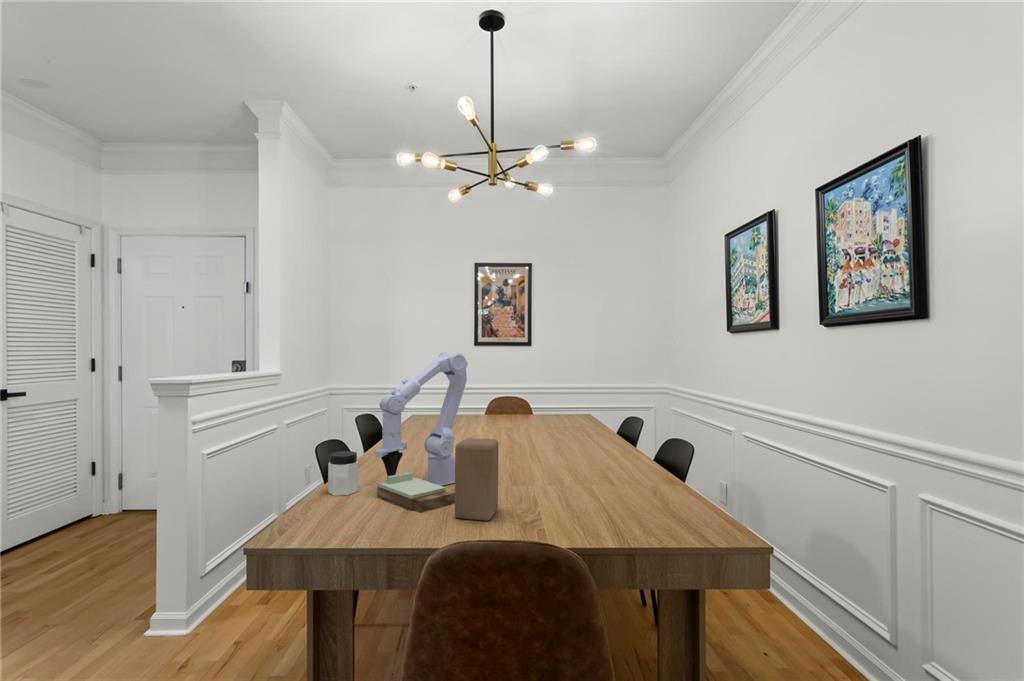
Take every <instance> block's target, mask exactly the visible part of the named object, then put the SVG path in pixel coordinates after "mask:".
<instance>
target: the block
mask: <svg viewBox="0 0 1024 681" xmlns="http://www.w3.org/2000/svg"><path fill="white" fill-rule="evenodd" d="M454 450H455V453H454V454H455V455H454V457H455V483H454V489H455V503H454V516H455V517H454V518H456V519H461V520H471V521H472V520H476V521H491V519H492V518H493V516H494V515H495V514H496V513H497V511H498V508H499V441H498V440H497V439H495V438H494V439H493V438H492V439H490V438H489V439H488V438H474V437H472V438H471V437H470V438H469V437H468V438H464V439H462V440H461V441H458V443H456V444H455V449H454Z"/></svg>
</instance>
